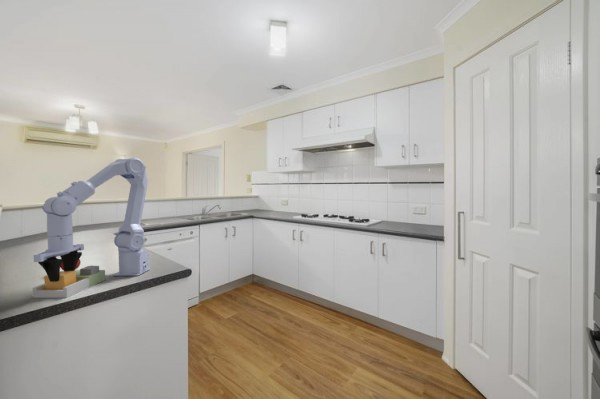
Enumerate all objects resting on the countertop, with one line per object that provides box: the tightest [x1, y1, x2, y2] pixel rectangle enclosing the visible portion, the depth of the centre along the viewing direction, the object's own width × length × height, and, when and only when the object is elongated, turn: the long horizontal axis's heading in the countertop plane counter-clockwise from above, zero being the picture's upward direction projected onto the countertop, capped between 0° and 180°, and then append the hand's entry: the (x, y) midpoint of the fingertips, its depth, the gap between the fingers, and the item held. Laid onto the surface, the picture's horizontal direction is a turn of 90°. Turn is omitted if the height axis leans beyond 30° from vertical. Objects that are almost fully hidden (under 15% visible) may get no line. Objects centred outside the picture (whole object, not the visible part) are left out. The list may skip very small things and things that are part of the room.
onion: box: [60, 258, 81, 271], centre depth 97 cm, size 6×6×8 cm
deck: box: [32, 265, 106, 299], centre depth 82 cm, size 10×15×6 cm, turn 1°
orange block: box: [43, 270, 76, 290], centre depth 79 cm, size 6×4×5 cm, turn 90°
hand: (62, 278), depth 79 cm, fingers open, 4 cm apart
